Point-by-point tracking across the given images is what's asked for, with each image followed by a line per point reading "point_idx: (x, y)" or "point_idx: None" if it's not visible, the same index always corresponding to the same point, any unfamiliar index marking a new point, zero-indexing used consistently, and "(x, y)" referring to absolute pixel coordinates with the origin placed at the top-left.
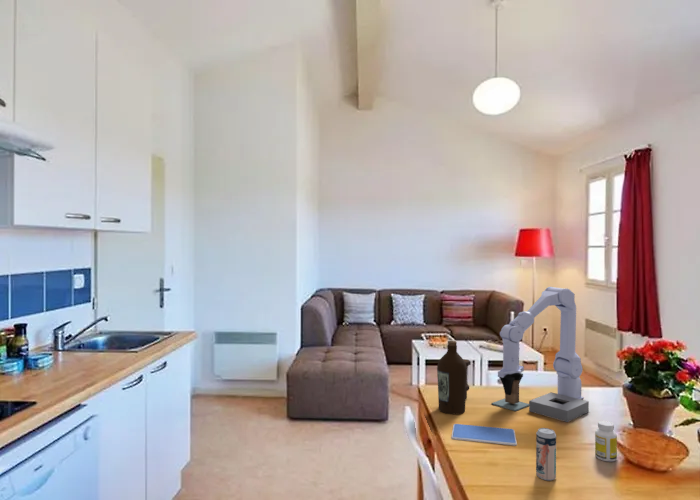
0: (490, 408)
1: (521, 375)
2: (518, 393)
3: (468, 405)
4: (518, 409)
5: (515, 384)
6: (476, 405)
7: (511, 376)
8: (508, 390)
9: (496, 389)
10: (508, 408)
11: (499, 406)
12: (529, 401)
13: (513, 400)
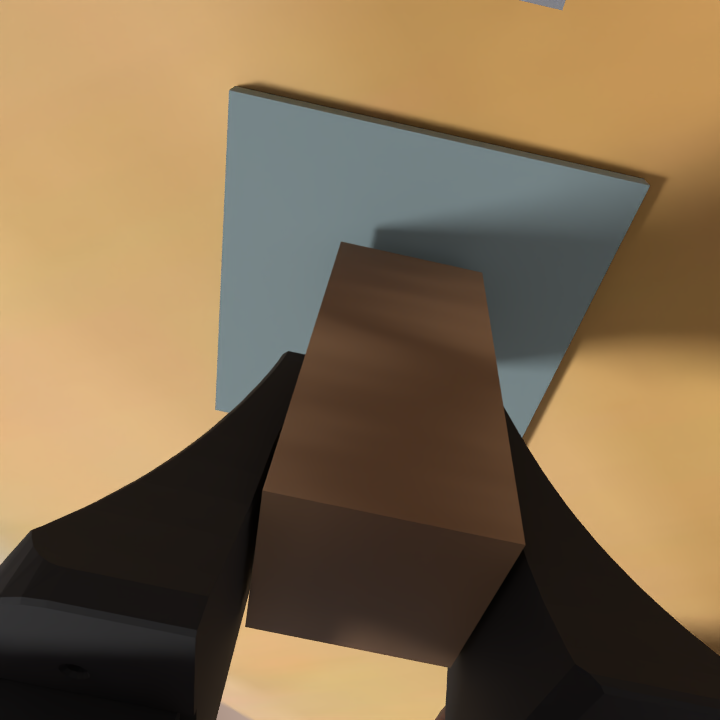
0: (654, 437)
1: (145, 597)
2: (339, 314)
3: (650, 580)
4: (571, 164)
5: (447, 477)
6: (615, 540)
7: (223, 672)
8: None
9: (29, 524)
10: (596, 287)
11: (540, 387)
12: (561, 2)
13: (482, 303)
